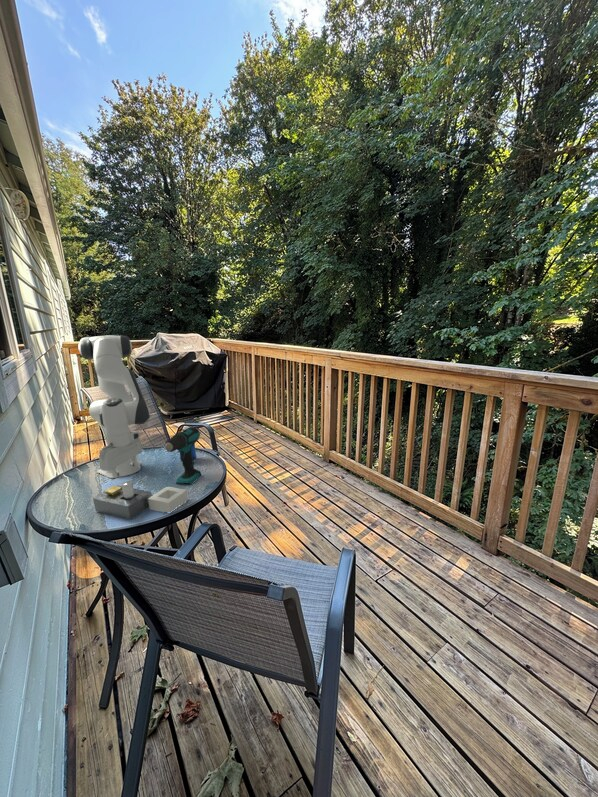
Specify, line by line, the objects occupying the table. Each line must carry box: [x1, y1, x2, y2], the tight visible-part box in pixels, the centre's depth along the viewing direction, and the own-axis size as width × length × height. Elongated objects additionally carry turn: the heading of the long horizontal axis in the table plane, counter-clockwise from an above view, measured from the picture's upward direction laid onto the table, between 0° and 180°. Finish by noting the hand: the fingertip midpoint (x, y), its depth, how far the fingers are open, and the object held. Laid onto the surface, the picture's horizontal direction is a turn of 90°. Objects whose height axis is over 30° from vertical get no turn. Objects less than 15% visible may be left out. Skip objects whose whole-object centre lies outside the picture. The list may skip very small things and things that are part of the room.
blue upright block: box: [180, 443, 197, 463], centre depth 191 cm, size 8×8×16 cm
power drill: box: [164, 426, 202, 485], centre depth 166 cm, size 26×9×25 cm, turn 168°
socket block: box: [92, 484, 153, 521], centre depth 147 cm, size 20×12×6 cm, turn 67°
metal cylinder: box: [121, 480, 135, 501], centre depth 145 cm, size 4×4×12 cm
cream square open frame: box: [148, 486, 189, 513], centre depth 148 cm, size 11×11×5 cm
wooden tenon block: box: [103, 485, 122, 496], centre depth 149 cm, size 5×5×8 cm
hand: (124, 471), depth 142 cm, fingers open, 8 cm apart
